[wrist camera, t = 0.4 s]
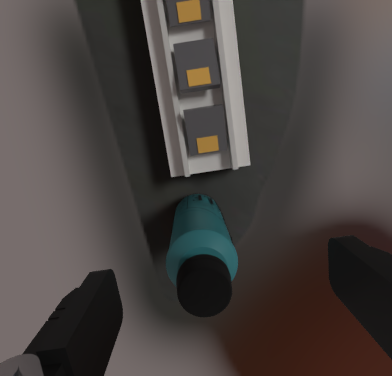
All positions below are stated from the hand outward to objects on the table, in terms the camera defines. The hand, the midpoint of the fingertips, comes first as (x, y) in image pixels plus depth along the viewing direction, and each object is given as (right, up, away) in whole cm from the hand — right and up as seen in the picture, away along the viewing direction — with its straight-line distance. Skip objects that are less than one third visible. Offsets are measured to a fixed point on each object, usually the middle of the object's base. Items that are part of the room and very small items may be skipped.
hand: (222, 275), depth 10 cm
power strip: (-1, +18, +24) cm, 30 cm away
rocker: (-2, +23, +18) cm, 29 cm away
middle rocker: (-1, +17, +19) cm, 25 cm away
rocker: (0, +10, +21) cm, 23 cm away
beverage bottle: (-1, 0, +28) cm, 28 cm away
